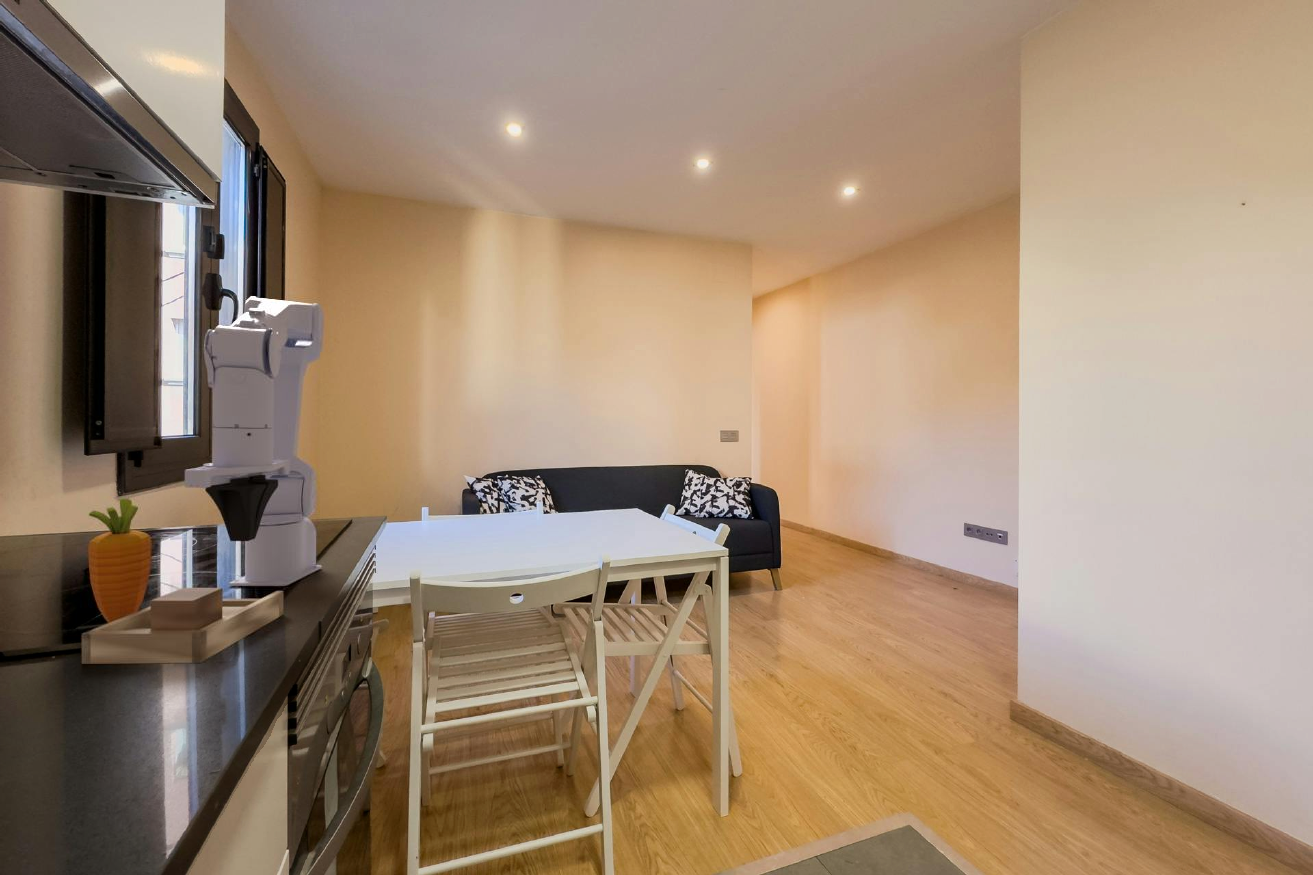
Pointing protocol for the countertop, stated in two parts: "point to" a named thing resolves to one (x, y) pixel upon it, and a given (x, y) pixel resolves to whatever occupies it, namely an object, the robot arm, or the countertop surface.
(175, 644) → the tray box
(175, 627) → the block
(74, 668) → the countertop surface
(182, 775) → the countertop surface
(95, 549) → the carrot
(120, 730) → the countertop surface
